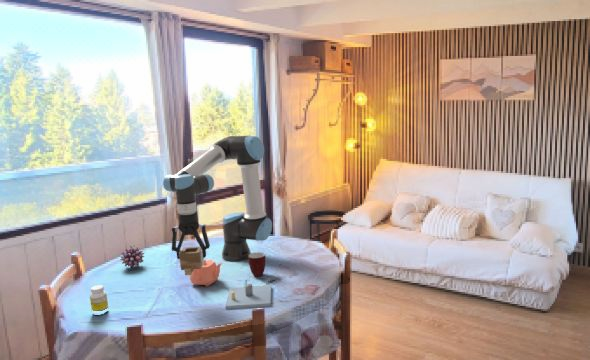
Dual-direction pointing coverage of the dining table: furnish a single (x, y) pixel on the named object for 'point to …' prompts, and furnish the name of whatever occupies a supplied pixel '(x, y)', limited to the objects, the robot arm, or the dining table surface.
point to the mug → (257, 263)
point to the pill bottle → (98, 298)
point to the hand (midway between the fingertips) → (192, 265)
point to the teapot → (206, 274)
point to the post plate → (249, 296)
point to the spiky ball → (132, 256)
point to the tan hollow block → (190, 259)
